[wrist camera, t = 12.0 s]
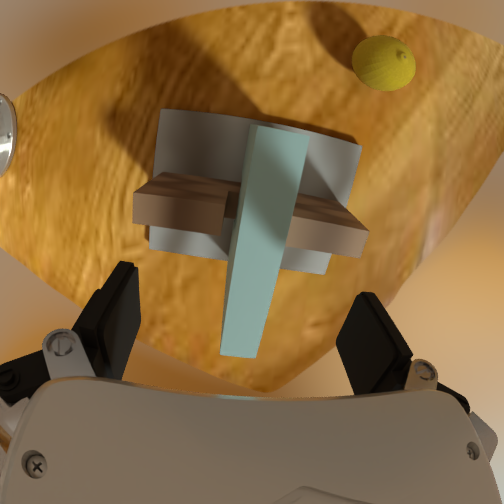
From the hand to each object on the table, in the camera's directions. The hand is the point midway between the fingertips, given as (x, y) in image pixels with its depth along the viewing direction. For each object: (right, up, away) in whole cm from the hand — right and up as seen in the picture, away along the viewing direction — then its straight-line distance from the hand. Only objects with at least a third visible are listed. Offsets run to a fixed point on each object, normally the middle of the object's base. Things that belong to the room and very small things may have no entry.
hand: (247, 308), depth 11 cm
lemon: (+12, +21, +11) cm, 27 cm away
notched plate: (0, +8, +16) cm, 18 cm away
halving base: (0, +8, +17) cm, 19 cm away
